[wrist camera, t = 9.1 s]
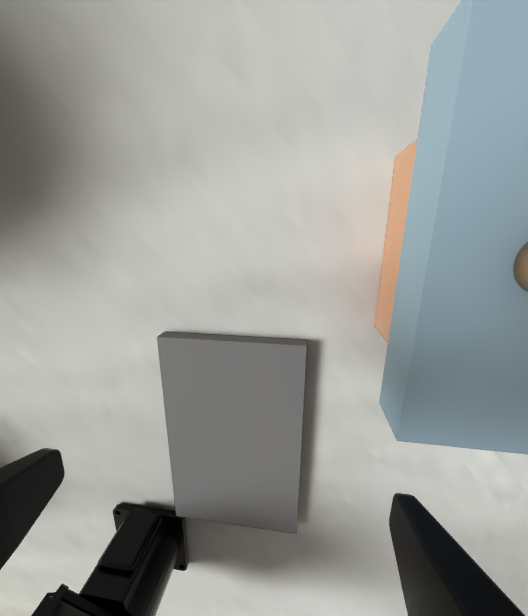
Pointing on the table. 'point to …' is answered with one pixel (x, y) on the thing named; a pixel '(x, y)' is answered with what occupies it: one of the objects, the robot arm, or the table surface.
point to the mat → (234, 426)
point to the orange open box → (394, 237)
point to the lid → (466, 243)
